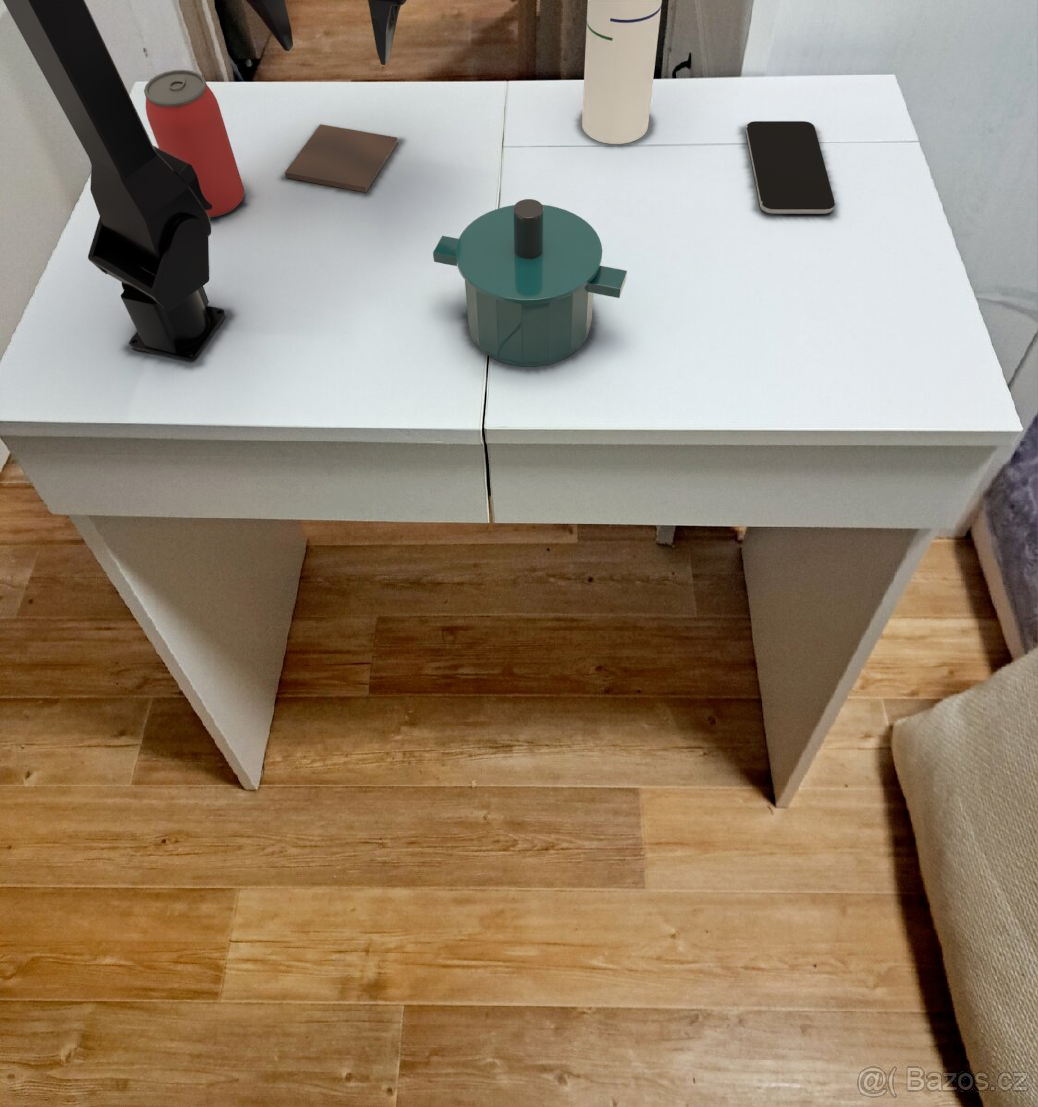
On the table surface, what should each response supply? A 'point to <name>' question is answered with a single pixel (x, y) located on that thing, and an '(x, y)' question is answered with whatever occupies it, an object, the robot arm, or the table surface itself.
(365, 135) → the trivet
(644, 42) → the cylindrical container
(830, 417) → the table surface
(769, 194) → the smartphone
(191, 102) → the beer can
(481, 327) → the pot
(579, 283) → the lid
